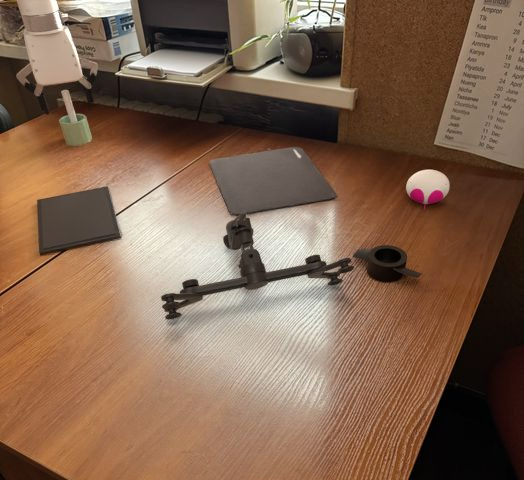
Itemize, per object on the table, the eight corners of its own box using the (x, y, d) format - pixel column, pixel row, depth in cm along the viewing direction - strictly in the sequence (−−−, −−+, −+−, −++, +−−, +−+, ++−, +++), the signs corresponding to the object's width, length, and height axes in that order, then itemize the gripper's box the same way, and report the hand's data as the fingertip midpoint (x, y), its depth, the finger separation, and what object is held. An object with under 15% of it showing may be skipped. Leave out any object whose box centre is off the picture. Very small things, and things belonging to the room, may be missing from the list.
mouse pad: (339, 198, 96) (339, 197, 96) (230, 216, 93) (230, 215, 92) (300, 146, 113) (300, 145, 113) (208, 160, 110) (208, 159, 110)
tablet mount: (169, 332, 81) (161, 306, 65) (151, 250, 83) (139, 205, 67) (327, 299, 85) (356, 266, 69) (306, 221, 88) (329, 172, 71)
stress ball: (401, 219, 96) (402, 203, 89) (407, 181, 97) (409, 162, 90) (443, 223, 94) (447, 206, 87) (449, 183, 95) (453, 164, 88)
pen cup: (63, 148, 119) (55, 124, 115) (69, 138, 123) (62, 114, 119) (90, 146, 119) (83, 122, 115) (94, 136, 123) (88, 112, 119)
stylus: (75, 141, 120) (60, 92, 112) (76, 138, 121) (61, 90, 113) (82, 141, 120) (67, 91, 112) (83, 138, 121) (69, 89, 113)
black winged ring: (391, 249, 83) (394, 234, 81) (424, 283, 76) (427, 268, 74) (349, 259, 82) (350, 244, 80) (378, 295, 75) (380, 279, 73)
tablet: (38, 202, 100) (36, 199, 100) (108, 189, 103) (107, 185, 102) (40, 255, 87) (38, 252, 86) (121, 238, 89) (120, 234, 89)
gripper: (84, 13, 108) (105, 98, 120) (-1, 23, 104) (30, 109, 116) (87, 21, 103) (108, 108, 115) (-2, 31, 99) (30, 121, 111)
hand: (69, 109), depth 116 cm, fingers open, 9 cm apart
